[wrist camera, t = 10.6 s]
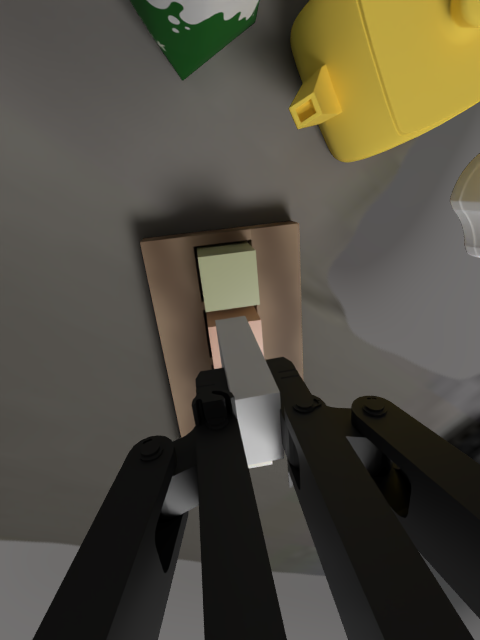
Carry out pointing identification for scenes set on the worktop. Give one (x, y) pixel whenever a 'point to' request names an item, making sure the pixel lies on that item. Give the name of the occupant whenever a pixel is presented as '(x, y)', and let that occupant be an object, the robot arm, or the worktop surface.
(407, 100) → the teapot
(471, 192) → the jar
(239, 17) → the milk carton
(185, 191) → the worktop surface
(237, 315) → the key terracotta
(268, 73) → the worktop surface
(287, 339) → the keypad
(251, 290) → the key olive
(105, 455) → the worktop surface
